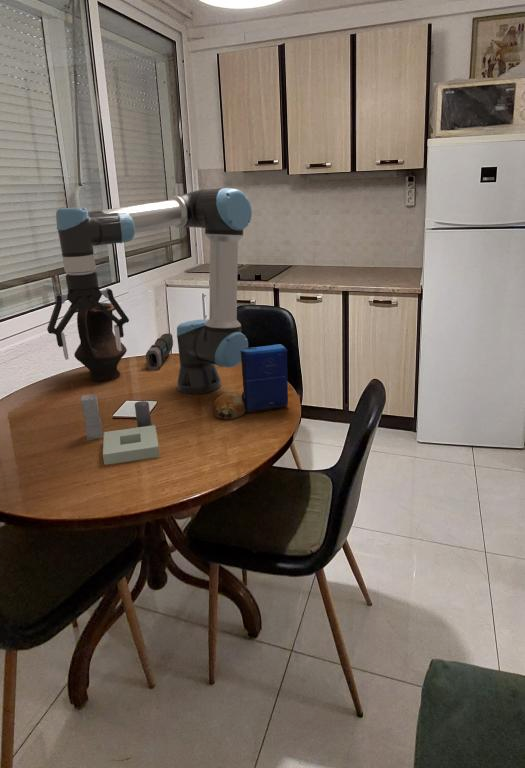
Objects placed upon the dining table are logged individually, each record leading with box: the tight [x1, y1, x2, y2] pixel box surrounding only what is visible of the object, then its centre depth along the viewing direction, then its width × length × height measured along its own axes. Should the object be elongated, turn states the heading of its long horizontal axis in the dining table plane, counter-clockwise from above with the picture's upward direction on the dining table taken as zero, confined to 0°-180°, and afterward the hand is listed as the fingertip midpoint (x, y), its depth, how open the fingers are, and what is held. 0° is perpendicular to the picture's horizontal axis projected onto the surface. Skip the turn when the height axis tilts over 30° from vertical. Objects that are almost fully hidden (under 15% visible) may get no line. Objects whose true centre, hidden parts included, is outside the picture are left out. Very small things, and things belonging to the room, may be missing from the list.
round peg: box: [134, 400, 152, 428], centre depth 160 cm, size 4×4×8 cm
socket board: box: [102, 424, 161, 466], centre depth 149 cm, size 14×14×3 cm
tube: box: [145, 332, 174, 371], centre depth 224 cm, size 11×7×30 cm
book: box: [240, 343, 289, 413], centre depth 168 cm, size 14×5×20 cm, turn 105°
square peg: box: [80, 393, 104, 441], centre depth 156 cm, size 4×4×12 cm
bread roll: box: [212, 392, 245, 420], centre depth 168 cm, size 10×10×8 cm
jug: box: [74, 302, 128, 382], centre depth 201 cm, size 21×18×30 cm
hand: (93, 353), depth 146 cm, fingers open, 13 cm apart
